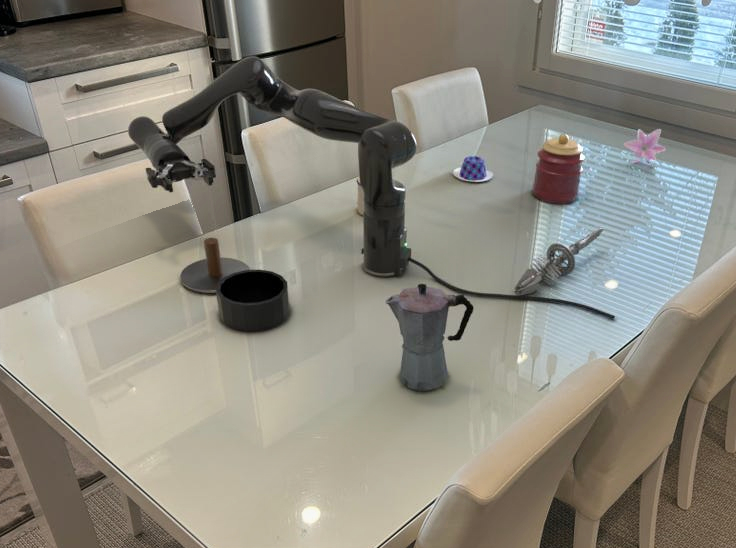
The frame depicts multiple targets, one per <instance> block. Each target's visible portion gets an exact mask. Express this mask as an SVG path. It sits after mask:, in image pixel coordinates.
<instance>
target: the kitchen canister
mask: <svg viewBox="0 0 736 548" xmlns="http://www.w3.org/2000/svg"><path fill="white" fill-rule="evenodd" d="M583 150H584V148H583V147H582V145H580V144H579V143H578V141H576V140H575V139H574V140H573V139H571V138H569V136H568V134H566V133H562V134H560V135H559V136H558V137H552V138H549V139H548V140H545V141H543V142H542V143H541V148H540V149H539V150H538V151H537V157H538V160H537V162H535V173H534V175H535V176H534V181H533V184H532V194H533V196H534V197H535V198H536V199H538V200H540V201H542V202H546V203H550V204H558V205H560V204H562V205H563V204H564V205H565V204H569V203H572V202H574V201H576V199H577V197H578V195H579V192H580V188H579V187H580V183H581V182H580V181H581V176H582V172H583V167H582V163H583V162H584V161H585V155H584V154H583Z"/></svg>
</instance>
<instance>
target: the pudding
mask: <svg viewBox="0 0 736 548" xmlns="http://www.w3.org/2000/svg"><path fill="white" fill-rule="evenodd" d="M452 175H453V176H454V177H456V178H457V179H459V180H462V181H466V182H473V183H474V182H475V183H476V182H477V183H478V182H486V181H489V180H491V179H492V178H493V177H494V173H493V172H492V170H489V169H487V168H486V163H485V160H484V159H483V158H482V157H480V156H476V155H469V156H467V157H465V158H464V159H463V161H462V165H461V166H460V167H456V168H454V170H452Z"/></svg>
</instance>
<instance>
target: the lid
mask: <svg viewBox="0 0 736 548" xmlns="http://www.w3.org/2000/svg"><path fill="white" fill-rule="evenodd" d="M203 245H204V246H203V247H204V251H205V252H204V253H205V258H203V259H199V260H196V261H193V262H192V263H189V265H187V266H186V267H184V268H183V269H182V270H181V272H180V276H179V277H180V278H179V280H180V282H181V284H182V285H183V286H184V287H185V288H187V289H189V290H191V291H194V292H197V293H204V294H205V293H207V294H213V293H215V294H216V288H217V284H218V283H219V282H220V281H221V280H222V279H223V278H224V277H226V276H229V275H231V274H233V273H236V272H240V271H244V270H251V268H250V267H249V265H247V263H245V262H244V261H241V260H240V259H236V258H231V257H224V256H223V257H221V251H220V243H219V240H218V238H216V237H209V238H208V237H207V238H205V239H204V240H203Z"/></svg>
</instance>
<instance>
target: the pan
mask: <svg viewBox="0 0 736 548" xmlns="http://www.w3.org/2000/svg"><path fill="white" fill-rule="evenodd" d="M215 294H216V301H217V309H218V316H219V318H220V320H221V323H222V324H223V325H224V326H226V327H227V328H229V329H231V330H234V331H237V332H242V333H261V332H265V331H269V330H272V329H274V328H277V327H279V326H281V325H282V324H284V323H285V322H286V320H287V319H288V318H289V315H290V301H289V288H288V281H287V279H285V278H284V276H283V275H282V274H278V273H277V272H275V271H271V270H265V269H250V270H244V271H240V272H236V273H233V274H231V275H229V276H226V277H224V278H223V279H222V280H221V281H220V282H219V283H218V284H217V288H216V293H215Z"/></svg>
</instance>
